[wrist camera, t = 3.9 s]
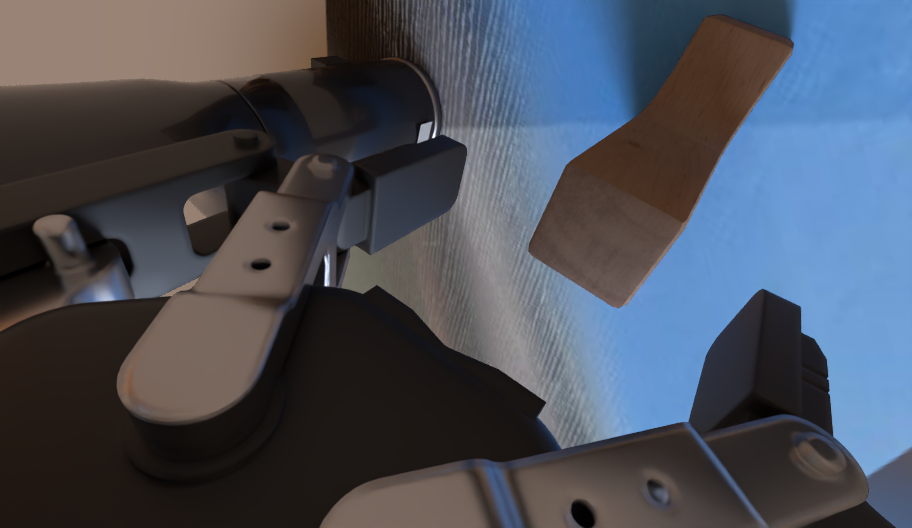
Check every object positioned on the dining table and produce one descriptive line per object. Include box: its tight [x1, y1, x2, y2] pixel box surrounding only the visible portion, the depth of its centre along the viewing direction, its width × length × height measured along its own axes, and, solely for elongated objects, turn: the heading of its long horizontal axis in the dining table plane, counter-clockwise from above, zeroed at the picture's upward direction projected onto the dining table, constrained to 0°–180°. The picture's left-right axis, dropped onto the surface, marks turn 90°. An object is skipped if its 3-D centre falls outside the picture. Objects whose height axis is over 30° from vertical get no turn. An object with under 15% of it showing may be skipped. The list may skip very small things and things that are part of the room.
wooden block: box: [529, 15, 794, 308], centre depth 20 cm, size 9×4×18 cm, turn 162°
